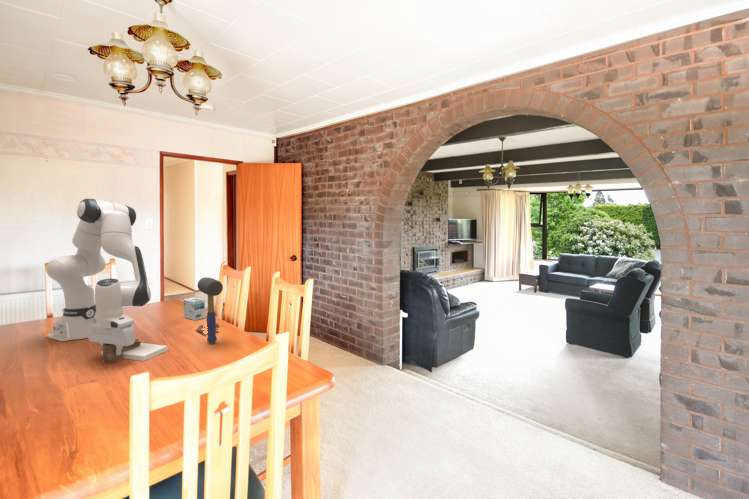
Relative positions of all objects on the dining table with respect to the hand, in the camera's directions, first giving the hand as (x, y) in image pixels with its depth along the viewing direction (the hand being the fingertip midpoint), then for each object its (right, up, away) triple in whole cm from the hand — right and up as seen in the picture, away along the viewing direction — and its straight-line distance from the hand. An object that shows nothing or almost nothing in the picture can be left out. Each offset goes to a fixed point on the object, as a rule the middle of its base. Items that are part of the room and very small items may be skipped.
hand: (112, 354), depth 149 cm
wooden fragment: (+19, +1, +43) cm, 47 cm away
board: (+4, -2, +9) cm, 10 cm away
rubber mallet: (+31, -1, +21) cm, 37 cm away
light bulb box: (+3, +3, +61) cm, 61 cm away
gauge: (+1, -2, +5) cm, 6 cm away
